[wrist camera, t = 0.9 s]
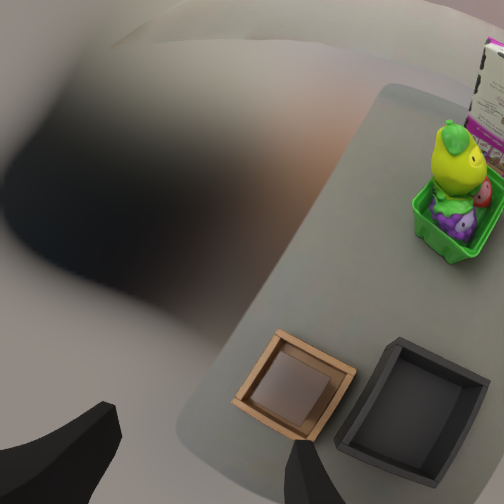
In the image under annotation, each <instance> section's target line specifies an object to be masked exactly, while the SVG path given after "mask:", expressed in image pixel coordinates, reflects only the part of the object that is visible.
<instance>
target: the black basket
mask: <svg viewBox="0 0 504 504" xmlns="http://www.w3.org/2000/svg"><path fill="white" fill-rule="evenodd" d="M490 382H491V381H490V380H488V379H486V378H484V377H482V376H480V375H478V374H476V373H474V372H471V371H469V370H467V369H465V368H463V367H461V366H459V365H457V364H455V363H453V362H451V361H449V360H447V359H444V358H442V357H440V356H438V355H436V354H434V353H432V352H430V351H428V350H426V349H424V348H422V347H420V346H418V345H416V344H414V343H412V342H410V341H407V340H405V339H403V338H401V337H399V338H397V339H396V340H395V341H393V342H392V343H390V344H389V345H387V346H386V348H385V350H384V352H383V354H382V356H381V358H380V360H379V362H378V364H377V366H376V368H375V370H374V372H373V374H372V376H371V377H370V379H369V381H368V383H367V385H366V387H365V388H364V390H363V392H362V394H361V395H360V397H359V399H358V401H357V402H356V404H355V406H354V407H353V409H352V411H351V412H350V414H349V416H348V417H347V419H346V420H345V422H344V424H343V425H342V427H341V428H340V430H339V431H338V433H337V434H336V436H335V437H334V442H335V445H336V448H337V450H339V451H341V452H343V453H346V454H348V455H350V456H352V457H354V458H356V459H359V460H361V461H363V462H366V463H368V464H370V465H373V466H375V467H377V468H380V469H382V470H385V471H387V472H390V473H392V474H395V475H397V476H400V477H403V478H405V479H408V480H411V481H414V482H417V483H420V484H423V485H426V486H429V487H432V488H436V487H437V486H438V484H439V482H440V481H441V480H442V478H443V477H444V475H445V473H446V472H447V470H448V468H449V467H450V465H451V463H452V462H453V460H454V458H455V457H456V455H457V453H458V451H459V449H460V448H461V446H462V444H463V442H464V440H465V438H466V436H467V434H468V432H469V430H470V428H471V426H472V424H473V422H474V420H475V418H476V416H477V413H478V411H479V409H480V407H481V404H482V402H483V400H484V397H485V395H486V392H487V390H488V387H489V384H490Z"/></svg>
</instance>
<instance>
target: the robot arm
mask: <svg viewBox="0 0 504 504" xmlns="http://www.w3.org/2000/svg"><path fill="white" fill-rule="evenodd" d="M121 438H122V433H121V429H120V425H119V420H118V416H117V411H116V407H115V405H113V404H110V403H107V402H104V401H102V402H100V403H99V404H97V405H96V406H94V407H93V408H91V409H90V410H88V411H86V412H85V413H83V414H82V415H80V416H79V417H77V418H76V419H74V420H73V421H71V422H69V423H68V424H66V425H64V426H63V427H61V428H59V429H57V430H55V431H54V432H51V433H49V434H48V435H46V436H44V437H41V438H39V439H37V440H34V441H32V442H29V443H27V444H23V445H20V446H16V447H12V448H9V449H4V450H0V504H88V503H89V500H90V498H91V495H92V494H93V492H94V490H95V488H96V486H97V485H98V483H99V481H100V480H101V478H102V476H103V475H104V473H105V471H106V470H107V468H108V466H109V464H110V462H111V461H112V459H113V458H114V456H115V454H116V451H117V449H118V446H119V443H120V441H121ZM284 496H285V504H346V503H345V502H344V501H343V499H342V498H341V496H340V495H339V493H338V492H337V490H336V488H335V487H334V485H333V483H332V482H331V480H330V478H329V476H328V474H327V473H326V471H325V469H324V467H323V465H322V463H321V460H320V458H319V456H318V454H317V451H316V449H315V446H314V444H313V442H312V441H311V440H298V439H295V442H294V445H293V448H292V450H291V453H290V456H289V459H288V462H287V465H286V468H285V482H284Z"/></svg>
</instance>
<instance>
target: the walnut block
mask: <svg viewBox="0 0 504 504" xmlns="http://www.w3.org/2000/svg"><path fill="white" fill-rule="evenodd" d="M330 379H331V377H329V376H327V375H325V374H324V373H322V372H320V371H318V370H316V369H314V368H312V367H310V366H309V365H307V364H305V363H303V362H301V361H299V360H298V359H296V358H294V357H292V356H290V355H289V354H287V353H285V352H283V351H280V352H279V354H278V355H277V357H276V358H275V360H274V362H273V363H272V365H271V366H270V368H269V370H268V371H267V373H266V374H265V376H264V377H263V379H262V380H261V382H260V384H259V385H258V387H257V388H256V390H255V391H254V393H253V394H252V396H251V397H250V399H252V400H253V401H255V402H257V403H258V404H260V405H261V406H263V407H265V408H266V409H268V410H270V411H271V412H273V413H275V414H277V415H278V416H280V417H282V418H284V419H285V420H287V421H289V422H291V423H292V424H294V425H296V426H298V427H301V425H302V424H303V422H304V421H305V419H306V418H307V416H308V415H309V413H310V412H311V410H312V408H313V407H314V405H315V404H316V402H317V401H318V399H319V397H320V396H321V394H322V392H323V391H324V389H325V388H326V386H327V384H328V383H329V381H330Z"/></svg>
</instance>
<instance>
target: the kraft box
mask: <svg viewBox="0 0 504 504" xmlns="http://www.w3.org/2000/svg"><path fill="white" fill-rule="evenodd" d="M280 351H283V352H285V353H287V354H289V355H290V356H292V357H294V358H296V359H298V360H299V361H301V362H303V363H305V364H307V365H309V366H310V367H312V368H314V369H316V370H318V371H320V372H322V373H324V374H325V375H327V376H329V377H331V379H330V381H329V383H328V384H327V386H326V388H325V389H324V391H323V392H322V394H321V396H320V397H319V399H318V401H317V402H316V404H315V405H314V407H313V408H312V410H311V412H310V413H309V415H308V416H307V418H306V419H305V421H304V422H303V424H302V425H301V427H298V426H296V425H294V424H292V423H291V422H289V421H287V420H285V419H284V418H282V417H280V416H278V415H277V414H275V413H273V412H271V411H270V410H268V409H266V408H265V407H263V406H261V405H260V404H258V403H257V402H255V401H253V400H252V399H250V397H251V396H252V394H253V393H254V391H255V390H256V388H257V387H258V385H259V384H260V382H261V380H262V379H263V377H264V376H265V374H266V373H267V371H268V370H269V368H270V366H271V365H272V363H273V362H274V360H275V358H276V357H277V355H278V354H279V352H280ZM356 372H357V369H355V368H353V367H351V366H349V365H347V364H345V363H343V362H341V361H339V360H337V359H335V358H333V357H332V356H330V355H328V354H326V353H324V352H322V351H320V350H318V349H316V348H314V347H313V346H311V345H309V344H307V343H305V342H303V341H301V340H299V339H298V338H296V337H294V336H292V335H290V334H288V333H287V332H285V331H283V330H281V329H278V330H277V332H276V333H275V335H274V336H273V338H272V340H271V341H270V343H269V344H268V346H267V348H266V349H265V351H264V352H263V354H262V356H261V357H260V359H259V360H258V362H257V363H256V365H255V367H254V368H253V370H252V371H251V373H250V374H249V376H248V377H247V379H246V380H245V382H244V384H243V385H242V387H241V388H240V390H239V391H238V393H237V394H236V396H235V397H234V399H233V400H232V402H231V403H232V404H234V405H235V406H237V407H238V408H240V409H241V410H243V411H244V412H246V413H248V414H249V415H251V416H252V417H254V418H256V419H257V420H259V421H260V422H262V423H264V424H265V425H267V426H269V427H271V428H272V429H274V430H276V431H277V432H279V433H281V434H283V435H284V436H286V437H288V438H290V439H292V440H293V441H295V439H298V440H311V441H312V442H314V440H315V439H316V437H317V436H318V434H319V433H320V431H321V430H322V428H323V427H324V425H325V424H326V422H327V421H328V419H329V418H330V416H331V415H332V413H333V411H334V410H335V408H336V407H337V405H338V403H339V402H340V400H341V398H342V397H343V395H344V393H345V392H346V390H347V388H348V386H349V385H350V383H351V381H352V379H353V378H354V376H355V374H356Z"/></svg>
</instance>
